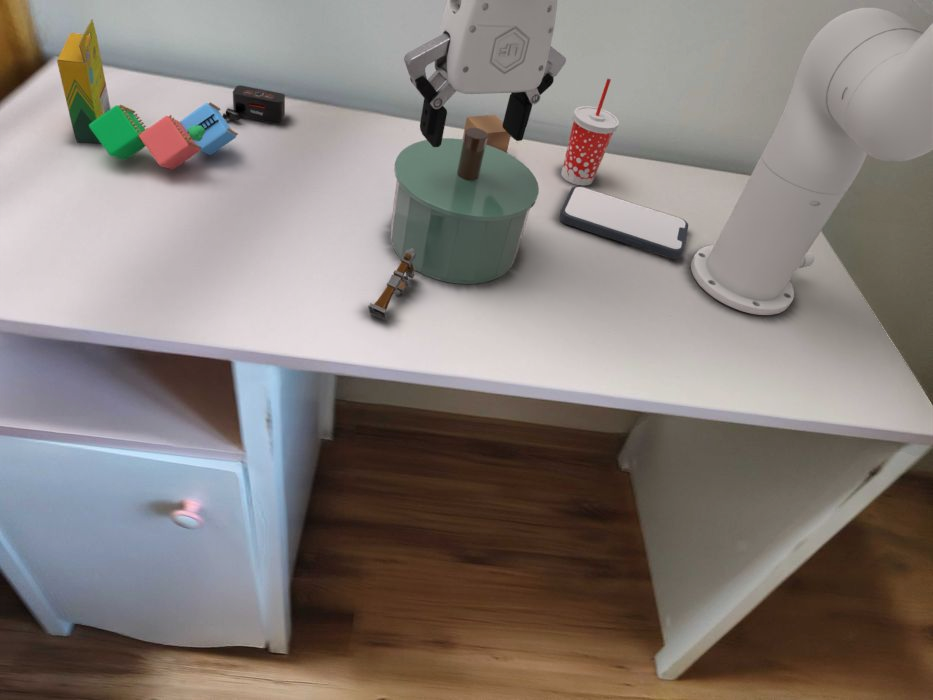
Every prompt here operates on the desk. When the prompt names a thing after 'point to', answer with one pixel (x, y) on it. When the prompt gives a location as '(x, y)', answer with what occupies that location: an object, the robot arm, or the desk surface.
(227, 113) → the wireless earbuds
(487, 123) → the oak block
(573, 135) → the beverage cup
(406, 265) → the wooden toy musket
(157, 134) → the building blocks
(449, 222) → the tin
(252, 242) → the desk surface
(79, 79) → the crayon box
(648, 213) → the smartphone
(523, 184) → the lid
